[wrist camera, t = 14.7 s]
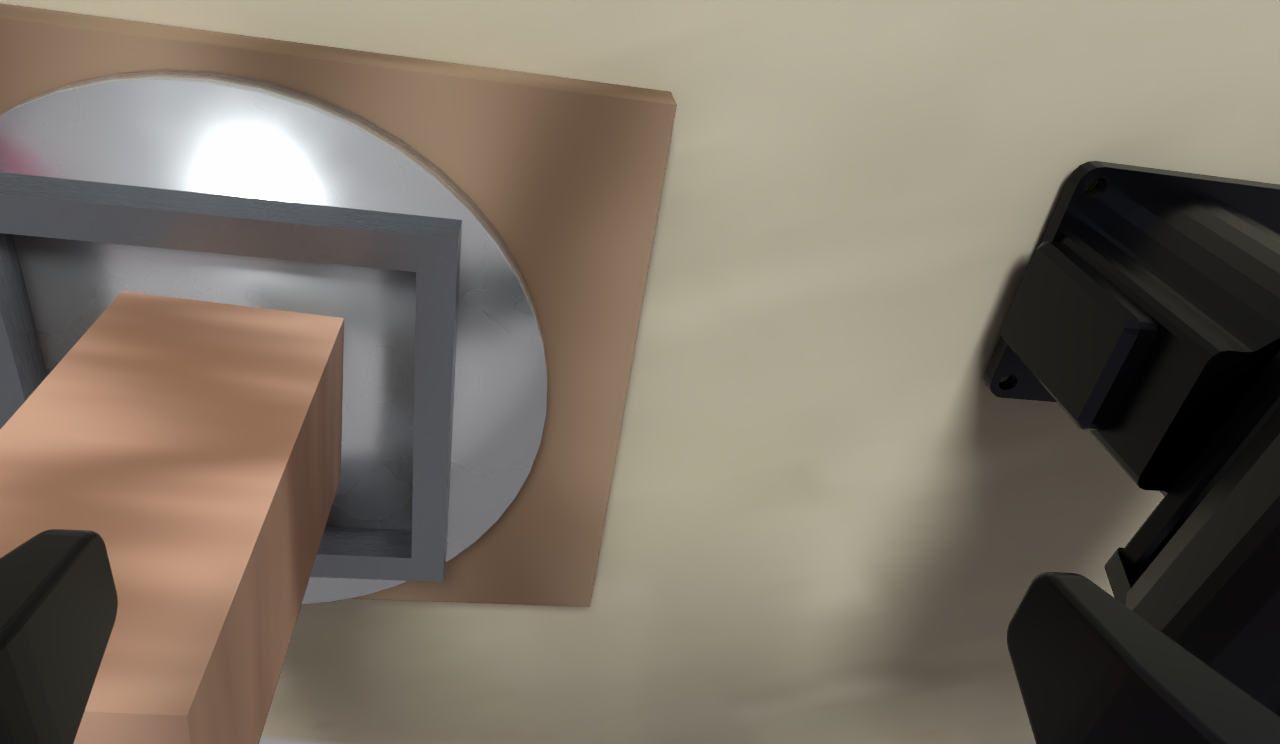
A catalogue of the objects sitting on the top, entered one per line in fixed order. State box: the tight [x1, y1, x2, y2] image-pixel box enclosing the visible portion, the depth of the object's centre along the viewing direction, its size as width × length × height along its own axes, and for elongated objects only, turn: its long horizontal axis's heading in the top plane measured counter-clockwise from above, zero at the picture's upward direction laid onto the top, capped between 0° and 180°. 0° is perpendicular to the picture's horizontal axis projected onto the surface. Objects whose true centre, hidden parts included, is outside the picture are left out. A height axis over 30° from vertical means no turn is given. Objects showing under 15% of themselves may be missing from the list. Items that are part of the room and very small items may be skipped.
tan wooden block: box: [0, 291, 344, 744], centre depth 16 cm, size 4×4×10 cm
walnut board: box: [0, 4, 677, 607], centre depth 21 cm, size 18×15×1 cm
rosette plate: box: [0, 69, 547, 605], centre depth 20 cm, size 14×14×2 cm
